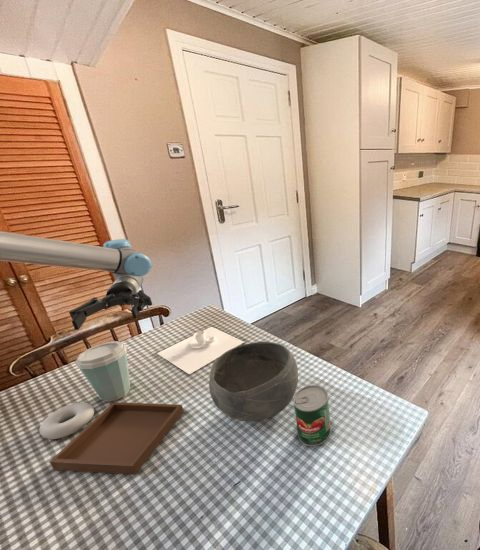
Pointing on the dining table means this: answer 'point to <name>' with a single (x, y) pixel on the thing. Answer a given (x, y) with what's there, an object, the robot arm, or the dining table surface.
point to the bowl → (253, 381)
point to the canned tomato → (312, 415)
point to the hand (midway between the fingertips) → (105, 319)
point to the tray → (119, 438)
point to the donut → (57, 429)
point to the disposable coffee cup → (106, 369)
